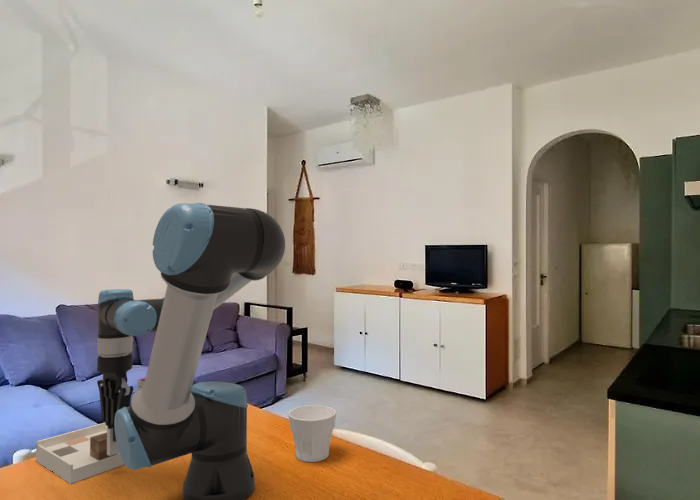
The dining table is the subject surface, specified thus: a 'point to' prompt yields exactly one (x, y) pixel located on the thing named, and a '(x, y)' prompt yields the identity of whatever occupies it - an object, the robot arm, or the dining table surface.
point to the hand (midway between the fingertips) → (114, 453)
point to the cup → (312, 431)
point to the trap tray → (74, 454)
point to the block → (99, 446)
